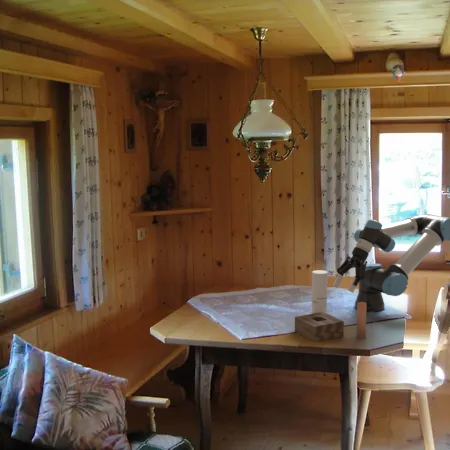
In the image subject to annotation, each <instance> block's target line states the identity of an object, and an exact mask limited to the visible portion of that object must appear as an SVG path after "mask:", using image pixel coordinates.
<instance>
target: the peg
mask: <svg viewBox="0 0 450 450" xmlns="http://www.w3.org/2000/svg"><path fill="white" fill-rule="evenodd" d="M366 306H367V303H365V302H358V303H357V308H356V311H357V312H356V313H357V314H356V338H357V339H359V338H360V339H361V340H364V339H366V337H367V336H366V332H367V311H366Z"/></svg>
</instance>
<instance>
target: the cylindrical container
mask: <svg viewBox="0 0 450 450" xmlns="http://www.w3.org/2000/svg"><path fill="white" fill-rule="evenodd" d="M311 272H312V273H311V275H312V277H311V278H312V279H311V281H312V283H311V314H314V313H320V312H324V313H327V314H328V312H327V311H328V309H327V307H328V271H327V270H322V269H321V270H320V269H319V270H317V269H316V270H313V271H311Z"/></svg>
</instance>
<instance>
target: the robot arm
mask: <svg viewBox="0 0 450 450" xmlns="http://www.w3.org/2000/svg"><path fill="white" fill-rule="evenodd" d="M408 235H409V236H420V237H419V238H417V240H416V241H415V242H414V243H413V244H412V245H411V246H410V247H409V248H408V250H406V252H404V254H403V255H402V256H401V257H400V258H399V259H398V260H397V261H396V262H395V263H391V264H389V265H388V266H387V267H386V268H384V267H383V264H381V263H368V261H367V259H368V257H369V255H370V254H369V253H371V251H372V249H373V248H377V249H380V250H381V251H382V252H385V253H390V252H392V251H393V250H394V248H395V246H396V242H395V239H396V238H400V237H403V236H408ZM353 238H354V241H355V242H356V244H355V246H354V247H353V249H352V252H351V255H352V257H351V256H347V257H346V259H345V260H344V261H343V263H341V265H340V266H339V267H338V268H337V270H336V273H337V275H336V278H335V280H334V281H333V284H332V286H333V287H334V288H337V289H338V288H339V286H340V284H341V282H342V281H343V278H344V275H345V274H346V273H347V272H348V271H349V270H351V269H353V268H354V270H355V275H354V277H353V279H352V281H351V284H350V285H349V287H348V289H347V291H349V292H351V293H354V292H355V290H356V288H357V287H358V293H357V295H356V299H355V301H354V308H355V309H357V303H358V302H365V303H367V306H366V312H379V311H383V310H384V309H385V302H384V298H383V295H382V294H385V295H387V296H391V297H397V296H400V295H402V294H404V292H406V289H407V288H408V287H407V286H408V284H409V282H408V281H409V275H410V274H411V273H412V272H413V270H415V269H416V268H417V266H419V264H420V263H421V262H422V261H423V260H424V259H425V257H426V256H427V255H428V254H430V252H431V251H433V249H434V248H435V247H436V246H438V247H439V246H441V245H442V244H443V243H444V242H445V241H447V242H449V241H450V217H447V216H440V215H435V214H426V213H425V214H419V215H415V216H410V217H407V218H406V219H405V220H402V221H398V222H393V223H389V224H385V225H383V224H382V223H381V222H379V221H377V220H375V219H368V220H367V222H366V224H365V225H364V226H363V228H358V229H357V230H356V231H355V232H354V237H353Z"/></svg>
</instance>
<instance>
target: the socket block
mask: <svg viewBox="0 0 450 450" xmlns="http://www.w3.org/2000/svg"><path fill="white" fill-rule="evenodd" d="M344 328H345V321H344V320H342V319H340V318H337V317H335V316H333V315H332V314H328V312H327V313H324V312H320V313H314V314H312V313H309V314H304V315H297V316H294V332H295V333H297V334H299V335H300V336H303V337H305V338H307V339H308V340H310V341H312V342H320V341H324V340H325V341H326V340H330V339H335V338H339V337H344Z"/></svg>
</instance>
